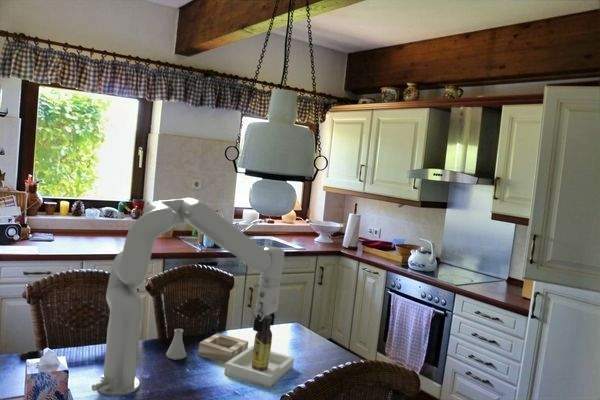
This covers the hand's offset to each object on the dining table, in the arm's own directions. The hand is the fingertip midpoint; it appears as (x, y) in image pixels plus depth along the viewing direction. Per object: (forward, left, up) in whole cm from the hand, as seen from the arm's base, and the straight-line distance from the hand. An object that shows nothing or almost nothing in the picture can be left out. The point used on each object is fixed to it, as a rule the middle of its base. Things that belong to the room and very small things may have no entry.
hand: (263, 327), depth 180 cm
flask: (-8, +31, -17) cm, 36 cm away
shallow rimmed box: (+4, +18, -16) cm, 25 cm away
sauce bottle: (0, 0, -16) cm, 16 cm away
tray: (0, 0, -16) cm, 16 cm away
